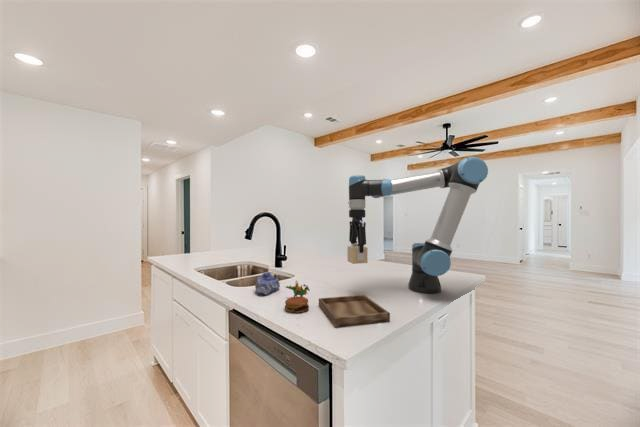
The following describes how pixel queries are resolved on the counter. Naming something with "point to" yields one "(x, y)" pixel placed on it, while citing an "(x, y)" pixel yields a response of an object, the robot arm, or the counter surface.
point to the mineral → (266, 283)
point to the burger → (296, 304)
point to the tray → (353, 311)
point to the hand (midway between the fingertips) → (357, 258)
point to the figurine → (299, 290)
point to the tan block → (356, 255)
